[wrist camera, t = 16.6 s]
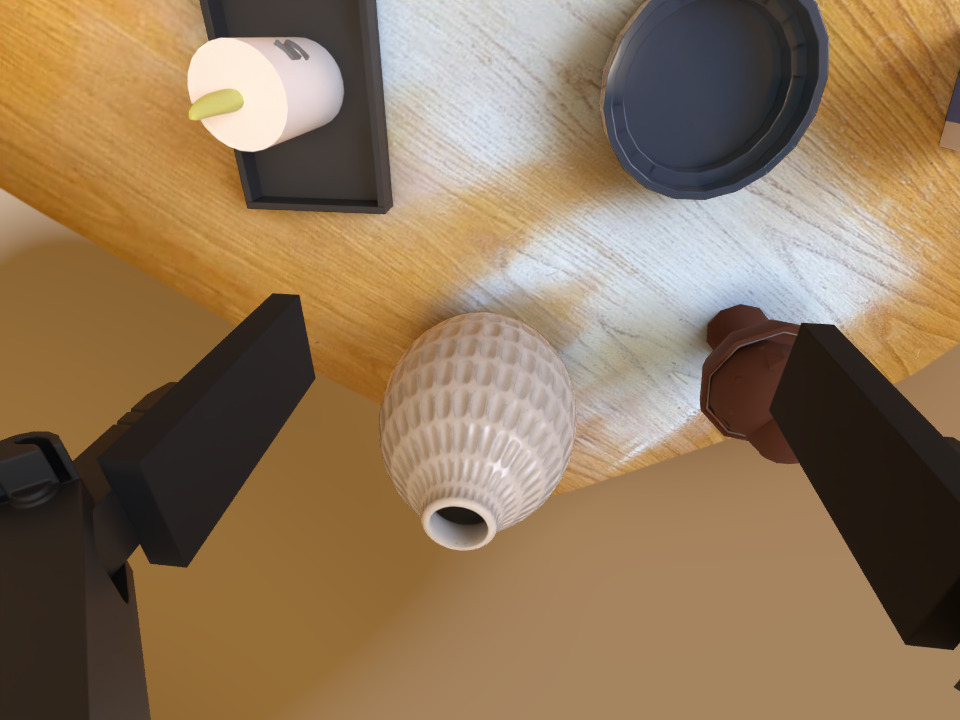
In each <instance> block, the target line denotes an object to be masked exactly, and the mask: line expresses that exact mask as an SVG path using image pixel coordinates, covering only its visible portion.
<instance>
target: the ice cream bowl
mask: <svg viewBox="0 0 960 720" xmlns="http://www.w3.org/2000/svg"><path fill="white" fill-rule="evenodd" d="M800 326H801V325H797V324H792V323H787V322H782V321H777V320H768V319H767V317H766V316H765V315H764V314H763V312H762V311H761V310H760V308H756V307H751V306H746V305H741V304H740V305H737V306H734V307H731V308H728V309H725V310H723V311H720V313H719V314H718V315H717V316H716V317H715V318H714V319H713V320H712V321H711V322H710V324H709V325H708V330H707V343H708V344H709V345H710V346H711V347H712V348H713V350H714V351H713V352H712V353H711V354H710V355H709V356H708V357H707V358H706V360H705V362H704V364H703V369H702V381H701V392H700V407H701V411H702V412H703V413H704V415H705V416H706V417H707V418H708V419H709V420H710V421H711V422H712V423H713V424H714V426H715V427H716V428H717V429H718V430H719V431H720V432H721V433H722V434H723V435H724V436H727V437H732V438H737V439H741V440H746V441H749V442H750V443H751V444H752V445H753V446H754V447H755V448H756V449H757V450H758V451H759V453H760V454H761V455H762V456H763V457H765V458H766V459H769V460H771V461H773V462H776V463H783V464H796V463H799V462H798V460H797V458H796V456H795V455H794V453H793V451H792V450H791V448H790V446H789V444H788V443H787V441H786V439H785V438H784V436H783V434H782V432H781V431H780V429H779V427H778V426H777V424H776V422H775V420H774V419H773V417H772V415H771V414H770V412H769V408H770V405H771V402H772V400H773V397H774V394H775V392H776V389H777V386H778V384H779V381H780V379H781V376H782V373H783V371H784V368H785V365H786V363H787V360H788V357H789V355H790V352H791V349H792V347H793V344H794V342H795V339H796V336H797V334H798V331H799V328H800Z"/></svg>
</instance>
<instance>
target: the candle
mask: <svg viewBox="0 0 960 720" xmlns="http://www.w3.org/2000/svg"><path fill="white" fill-rule="evenodd" d="M188 90H189V95H190V99H191V103H192V106H191V108H190V110H189V113H188V117H189V119H190V120H201V122H202V123H203V125H204V126H205V128H206V129H207V130H208V131H209V132H210V133H211V134H212V135H213V136H214V137H215V138H216V139H218V140H220V141H221V142H223V143H224V144H226V145H227V146H229V147H232V148H235V149H237V150H240V151H250V152H255V151H259V150H264V149H266V148H269V147H271V146H274V145H276V144H279V143H281V142H284V141H286V140H289V139H291V138H294V137H296V136H299V135H301V134H304V133H306V132H309V131H311V130H314V129H316V128H319V127H321V126H324V125H325V124H327V123H329V122H330V121H332V120H333V119H334V117H335V116H336V115H337V114H338V112H339V110H340V108H341V106H342V103H343V97H344V85H343V79H342V75H341V72H340V69H339V67H338V65H337V64H336V62H335V60H334V58H333V57H332V56H331V55H330V54H329V52H328V51H327V50H326V49H325V48H324V47H322V46H321V45H319V44H318V43H317V42H315V41H312V40H309V39H307V38H300V37H254V38H218V39H215V40H211V41H208V42H207V43H205V44H204V45H203V46H201V47H200V48H199V49H198V50H197V52H196V53H195V55H194V56H193V58H192V59H191V63H190V66H189V70H188Z"/></svg>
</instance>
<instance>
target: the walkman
mask: <svg viewBox="0 0 960 720" xmlns="http://www.w3.org/2000/svg"><path fill="white" fill-rule="evenodd" d="M945 121H946V122H945V126H944V129H943V133H942V136H941V140H940V144H939V146H941V147H945V148H948V149H952V150H955V151H959V152H960V72H959V75H958V79H957V82H956V86H955V89H954V93H953V96H952V100H951V103H950V107H949V110H948V114H947V117H946V120H945Z"/></svg>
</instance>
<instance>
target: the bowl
mask: <svg viewBox="0 0 960 720" xmlns="http://www.w3.org/2000/svg"><path fill="white" fill-rule="evenodd" d="M828 60H829V36H828V33H827V30H826V27H825V25H824V22H823V19H822V16H821V13H820V10H819V7H818V4H817V3H816V1H815V0H646V1H645V2H644V3H642V4H641V5H640V6H639V7H638V9H637V10H636V11H635V13H634V14H633V15H632V17H631V18H630V19H629V21H628V22H627V23H626V25H625V26H624V27H623V29H622V30H621V31H620V32H619V34H618V36H617V37H616V39H615V42H614V44H613V47H612V49H611V52H610V54H609V57H608V59H607V62H606V64H605V67H604V69H603V75H602V84H601V92H600V101H599V106H600V112H601V117H602V123H603V128H604V134H605V136H606V138H607V140H608V142H609V143H610V145H611V147H612V149H613V151H614V152H615V154H616V156H617V158H618V160H619V161H620V163H621V165H622V167H623V169H624V170H625V171H626V172H628V173H629V174H630V175H631V176H632V177H633V178H634V179H636V180H637V181H638V182H639V183H640V184H641V185H642V186H644V187H645V188H647V189H649V190H651V191H654V192H657V193H659V194H662V195H665V196H667V197H670V198H674V199H692V200H706V199H710V198H714V197H718V196H721V195H725V194H729V193H733V192H736V191H738V190H740V189H742V188H743V187H745V186H747V185H749V184H750V183H752V182H754V181H756V180H757V179H759V178H761V177H763V176H764V175H766V174H767V173H769V172H770V171H771V170H772V169H773V168H774V167H775V166H776V165H777V164H778V163H779V162H780V161H781V160H782V159H783V158H784V157H785V156H786V155H788V154H789V153H790V152H791V151H792V150H793V149H794V148H795V147H796V145H797V144H798V142H799V141H800V139H801V137H802V136H803V134H804V133H805V131H806V130H807V128H808V126H809V125H810V123H811V122H812V120H813V118H814V117H815V115H816V113H817V110H818V107H819V104H820V100H821V97H822V94H823V91H824V88H825V85H826V82H827V78H828Z"/></svg>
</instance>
